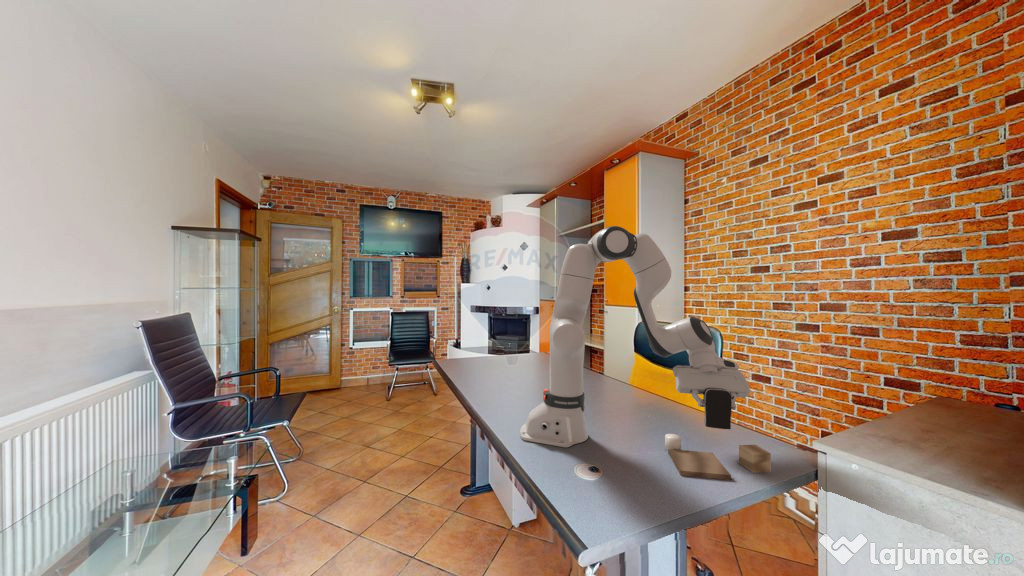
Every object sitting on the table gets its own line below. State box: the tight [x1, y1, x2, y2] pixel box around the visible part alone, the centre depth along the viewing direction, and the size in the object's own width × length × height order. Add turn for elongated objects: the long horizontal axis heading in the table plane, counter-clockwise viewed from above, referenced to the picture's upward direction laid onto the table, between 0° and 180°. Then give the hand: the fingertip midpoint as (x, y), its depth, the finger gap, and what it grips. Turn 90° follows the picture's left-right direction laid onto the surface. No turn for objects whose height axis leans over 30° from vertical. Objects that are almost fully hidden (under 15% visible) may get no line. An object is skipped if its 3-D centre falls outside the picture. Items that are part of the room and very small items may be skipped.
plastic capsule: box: [664, 433, 682, 452], centre depth 102 cm, size 4×4×4 cm
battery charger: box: [702, 388, 733, 430], centre depth 101 cm, size 7×4×11 cm, turn 75°
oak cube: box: [738, 444, 772, 473], centre depth 92 cm, size 5×5×5 cm
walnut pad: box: [667, 449, 732, 481], centre depth 93 cm, size 12×12×1 cm
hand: (717, 407), depth 101 cm, fingers closed on battery charger, 7 cm apart
